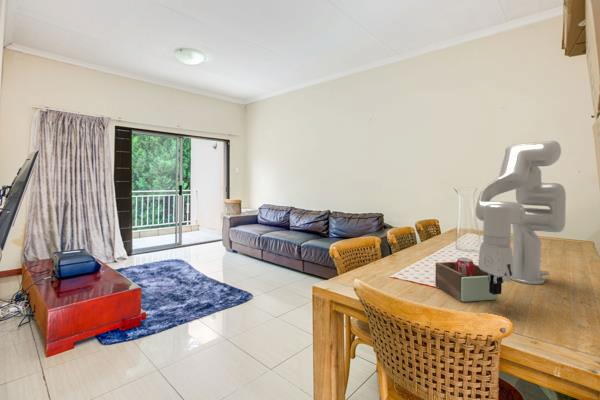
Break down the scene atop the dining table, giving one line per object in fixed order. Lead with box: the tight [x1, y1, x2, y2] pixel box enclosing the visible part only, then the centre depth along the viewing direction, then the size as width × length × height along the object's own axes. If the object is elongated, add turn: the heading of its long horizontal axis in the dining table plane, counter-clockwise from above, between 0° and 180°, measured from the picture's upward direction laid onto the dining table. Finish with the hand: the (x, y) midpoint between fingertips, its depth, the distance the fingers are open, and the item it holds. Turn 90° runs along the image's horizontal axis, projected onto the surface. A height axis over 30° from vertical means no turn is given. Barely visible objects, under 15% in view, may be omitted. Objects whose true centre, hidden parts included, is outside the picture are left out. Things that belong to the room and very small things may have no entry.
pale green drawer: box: [460, 276, 498, 303], centre depth 110 cm, size 14×15×9 cm
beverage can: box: [455, 257, 475, 277], centre depth 110 cm, size 6×6×12 cm
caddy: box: [434, 261, 487, 302], centre depth 111 cm, size 14×15×10 cm
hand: (495, 293), depth 96 cm, fingers closed
